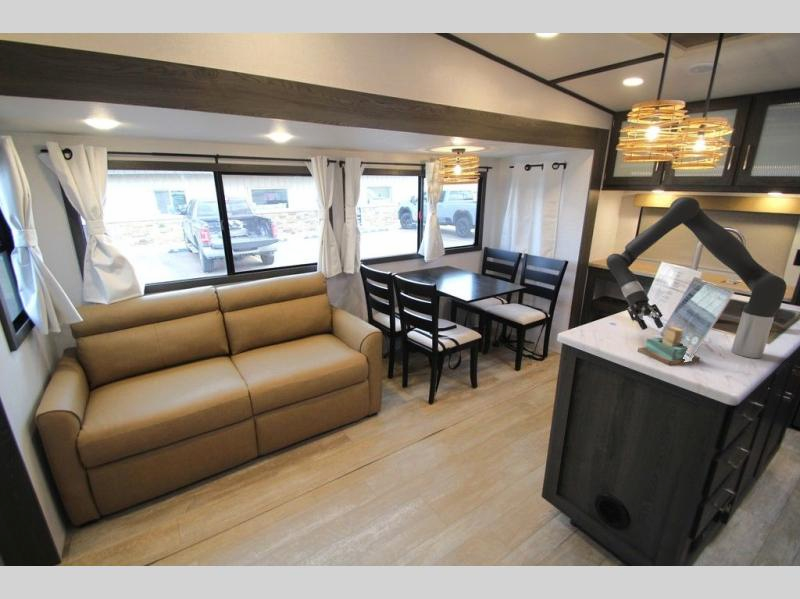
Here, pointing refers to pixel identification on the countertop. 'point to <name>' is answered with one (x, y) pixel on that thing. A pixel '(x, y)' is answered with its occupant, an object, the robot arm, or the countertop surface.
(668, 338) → the peg
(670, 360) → the socket block
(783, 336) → the countertop surface
